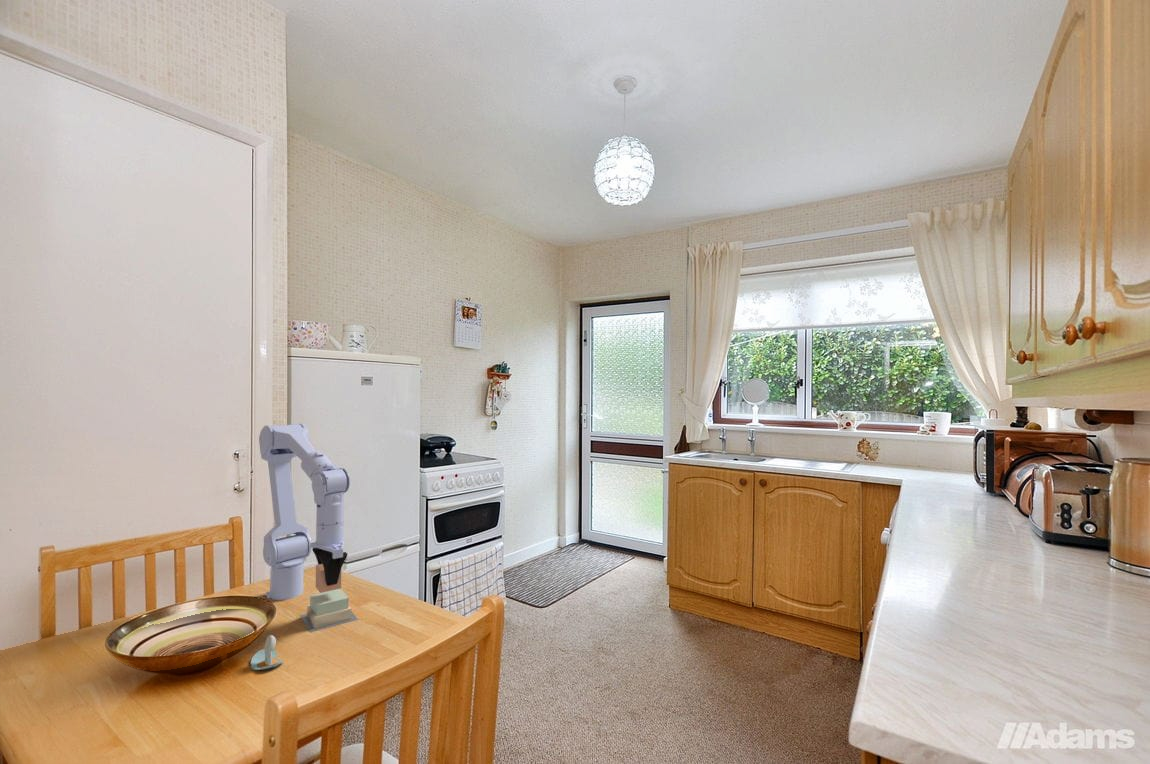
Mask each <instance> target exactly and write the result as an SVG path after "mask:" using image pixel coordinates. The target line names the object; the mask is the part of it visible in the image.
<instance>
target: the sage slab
mask: <svg viewBox="0 0 1150 764" xmlns="http://www.w3.org/2000/svg"><path fill="white" fill-rule="evenodd" d="M309 605H310V606H311V608H312V609H313V611H314V612H315V614H316V615H317V616H320V615H324V614H328V613H332V612H336V611H340V610H344V609H348V605H349V596H348V595H346V593H345V592H344V591H343V590H342V588H340V589H336V590H331V591H327V592H323V593H320V592H319V593H315V594H311V595H309Z"/></svg>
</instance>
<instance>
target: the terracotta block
mask: <svg viewBox="0 0 1150 764" xmlns="http://www.w3.org/2000/svg"><path fill="white" fill-rule="evenodd" d="M315 588H316V590H317V591H318V592H319V593H323V592H327V591H332V590H336V589H342V570H341V571H340V575H339V579H338V582H337V584H334V585H330V586H327V584H326V580H325V573H324V567H323V564H319V565H318V564H316V565H315Z"/></svg>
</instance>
